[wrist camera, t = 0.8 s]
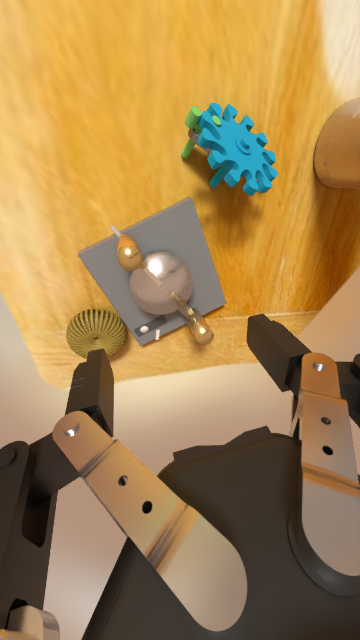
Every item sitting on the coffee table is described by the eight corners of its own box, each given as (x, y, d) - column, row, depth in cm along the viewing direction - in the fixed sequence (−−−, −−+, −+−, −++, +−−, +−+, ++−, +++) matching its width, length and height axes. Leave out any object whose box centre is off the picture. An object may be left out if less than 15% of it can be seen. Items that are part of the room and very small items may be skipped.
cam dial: (216, 303, 36) (234, 324, 31) (176, 335, 37) (187, 360, 32) (144, 212, 27) (153, 221, 22) (94, 258, 28) (91, 277, 23)
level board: (184, 186, 28) (188, 187, 27) (223, 301, 38) (227, 305, 37) (72, 242, 28) (71, 245, 27) (140, 342, 38) (142, 347, 37)
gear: (286, 142, 27) (277, 204, 23) (250, 181, 32) (237, 236, 28) (208, 70, 23) (182, 129, 19) (181, 126, 28) (156, 182, 25)
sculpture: (116, 310, 30) (133, 355, 35) (115, 296, 33) (131, 339, 38) (52, 328, 29) (79, 372, 34) (58, 312, 32) (81, 354, 37)
